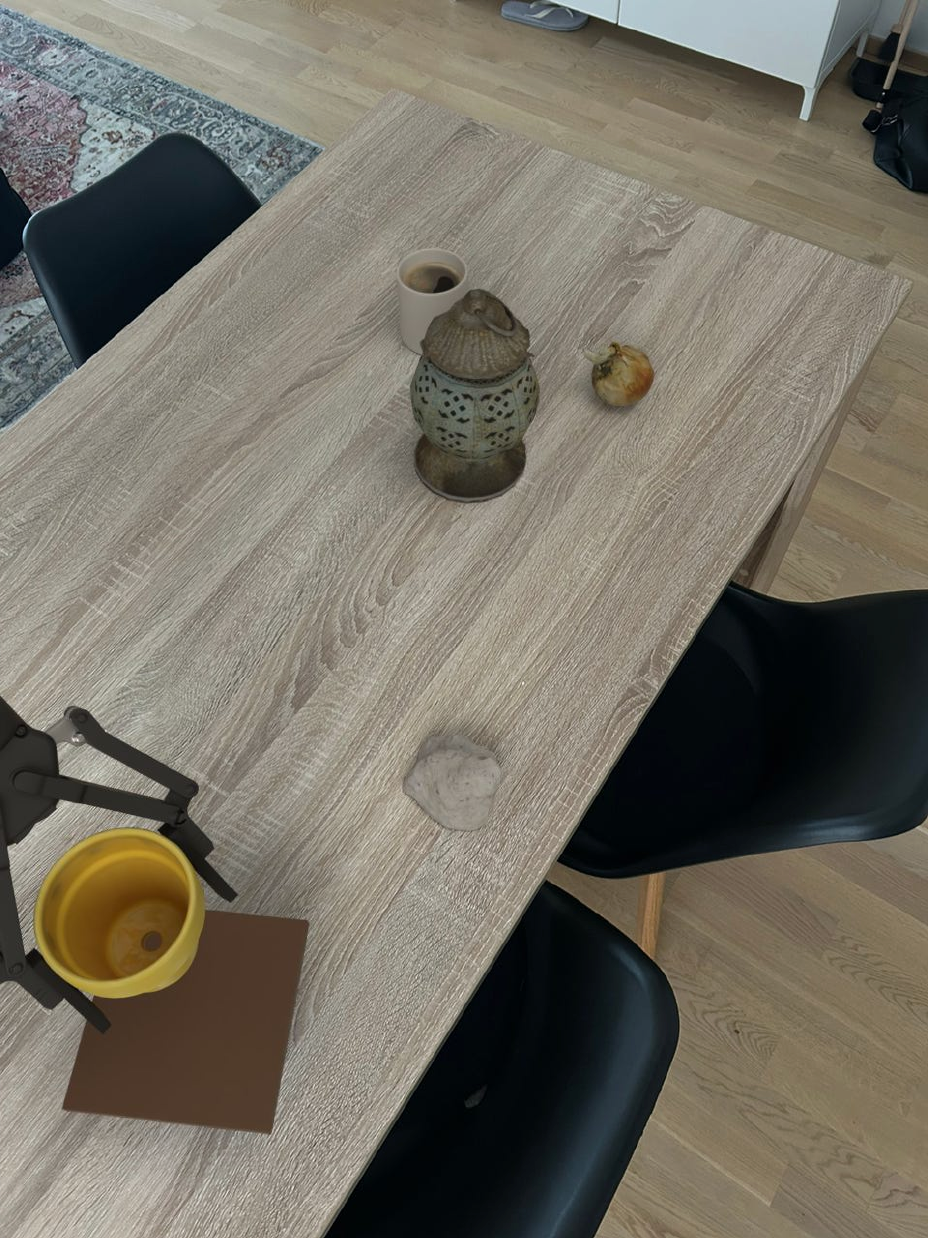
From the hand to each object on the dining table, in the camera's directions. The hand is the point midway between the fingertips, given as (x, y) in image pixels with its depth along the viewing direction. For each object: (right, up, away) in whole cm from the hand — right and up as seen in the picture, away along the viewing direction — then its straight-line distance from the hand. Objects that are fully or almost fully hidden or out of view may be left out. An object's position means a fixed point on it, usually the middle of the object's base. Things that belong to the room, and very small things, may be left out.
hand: (167, 956), depth 70 cm
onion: (+39, +50, +60) cm, 88 cm away
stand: (-2, -13, +20) cm, 24 cm away
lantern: (+21, +42, +55) cm, 72 cm away
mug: (+16, +61, +67) cm, 92 cm away
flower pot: (-2, -1, +5) cm, 5 cm away
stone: (+19, +6, +33) cm, 38 cm away
